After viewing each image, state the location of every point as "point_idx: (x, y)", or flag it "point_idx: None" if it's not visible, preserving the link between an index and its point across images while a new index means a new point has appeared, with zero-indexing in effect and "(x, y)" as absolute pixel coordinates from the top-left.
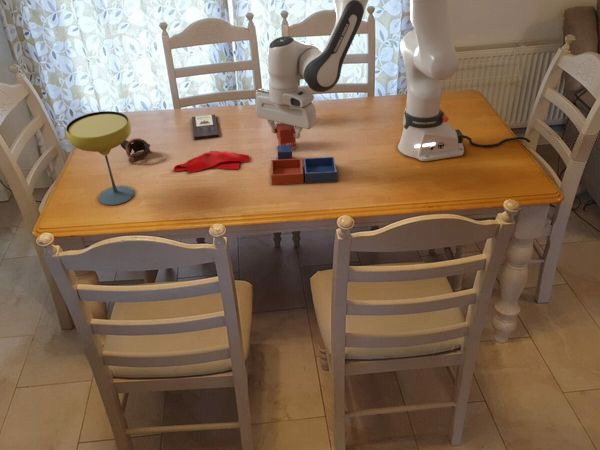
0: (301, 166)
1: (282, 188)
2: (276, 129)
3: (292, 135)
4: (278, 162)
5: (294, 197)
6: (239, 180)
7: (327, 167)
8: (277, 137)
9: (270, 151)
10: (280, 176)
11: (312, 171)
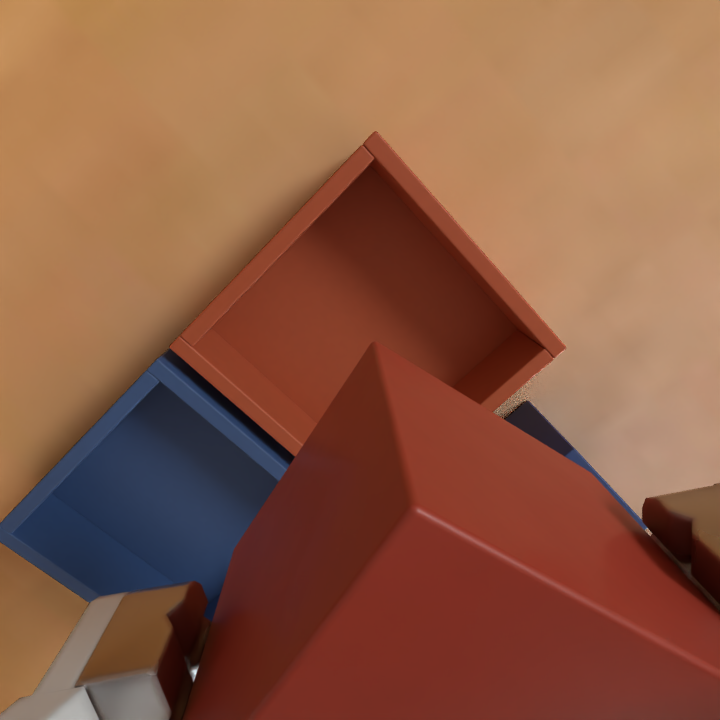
0: (272, 428)
1: (263, 158)
2: (699, 589)
3: (228, 618)
4: (499, 374)
5: (84, 114)
6: (650, 7)
7: (210, 570)
8: (568, 464)
9: None
10: (312, 196)
11: (251, 474)
